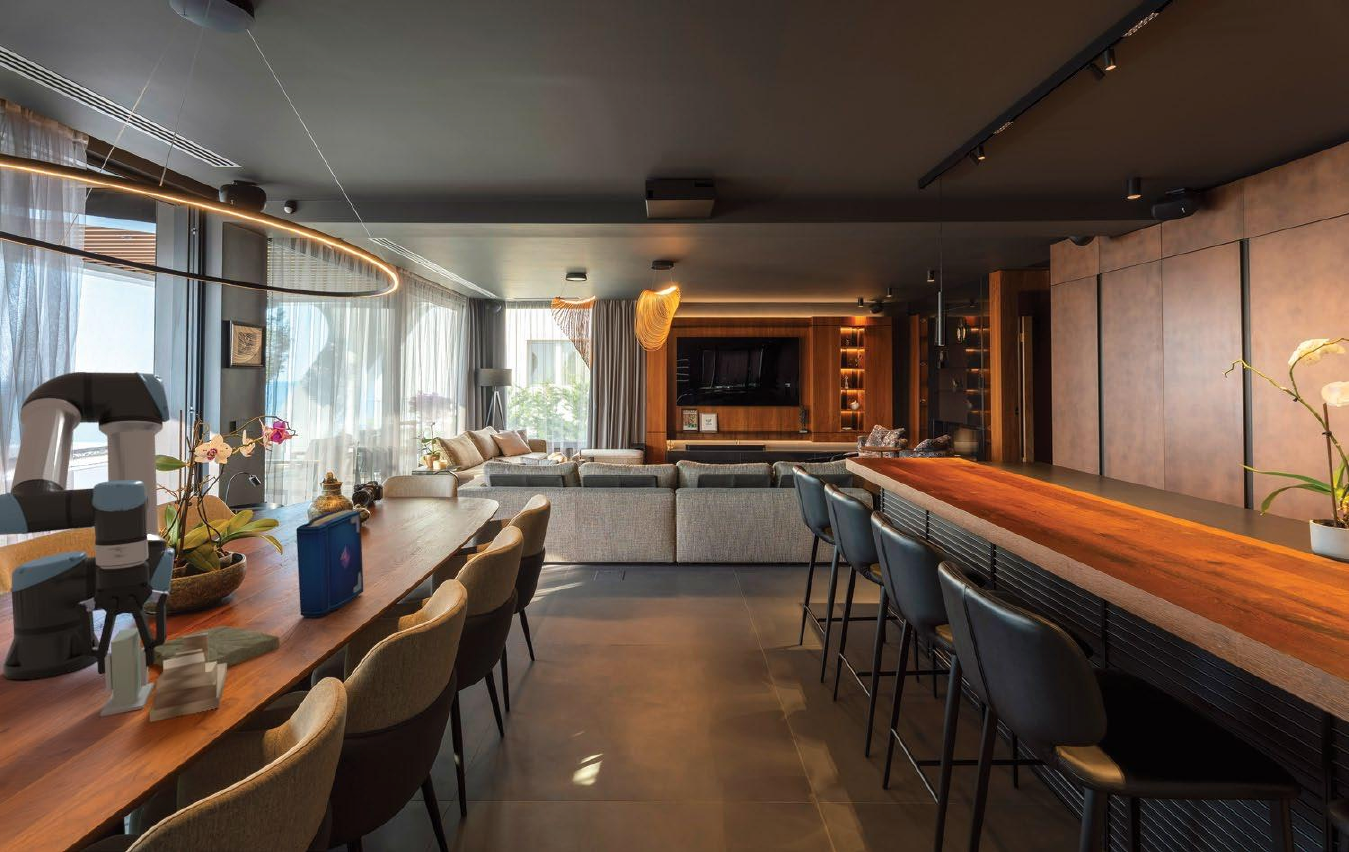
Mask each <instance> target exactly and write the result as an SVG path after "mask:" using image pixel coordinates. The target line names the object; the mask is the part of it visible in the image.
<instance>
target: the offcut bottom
mask: <svg viewBox="0 0 1349 852" xmlns="http://www.w3.org/2000/svg"><path fill="white" fill-rule="evenodd" d="M216 696H217V676H216V678H215V680H214V682H213V684H212V685H207V686H201V687H194V688H188V689H182V690H175V691H169V692H163V693H158V685H157V684H156V688H155V691H154V694H153V702H154V711H155V710H159V709H164V708H169V707H174V706H178V705H183V704H188V703H193V702H197V701H202V700H207V699H212V698H216Z"/></svg>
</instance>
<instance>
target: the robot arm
mask: <svg viewBox="0 0 1349 852" xmlns="http://www.w3.org/2000/svg"><path fill="white" fill-rule="evenodd" d="M19 417H20V421H21V423H22V424H23V426H24V428H23V431H22V436H21V441H20V446H19V450H18V454H17V455H18V456H17V460H16V465H15V470H14V474H13V479H12V482H11V488H10V492H7V493H2V494H0V536H5V535H27V534H36V533H37V534H38V533H44V532H54V531H64V530H72V529H74V530H75V529H78V530H79V529H86V528H87V529H89V528H94V537H95V540H94V549H95V552H94V553H95V555H94V557H93V556H92V557H88V554H87V553H86V551H85V550H77V551H67V552H62V553H56V554H55V553H54V554H50V555H47V556H43V557H40V558H36V559H33V560H29V561H27V562H24V563H22V564H20V565H18V566H16V568H15V569H14V570H13V571H12V573H11V585H10V586H11V587H10V589H9V590H10V592H11V600H12V601H11V602H12V605H11V606H12V618H13V619H12V620H13V624H12V625H13V626H12V627H13V639H12V641H11V644H10V647H9V649H8V652H7V654H6V657H5V660H4V662H3V667H2V668H3V669H2V670H3V677H4V678H5V677H6V678H5V679H7V680H11V679H30V680H37V679H36V678H38V679H42V678H43V677H45V678H49V676H50V677H54V676H53V675H55V676H59V675H62V673H63V674H66V673H65V672H67V673H70V672H69V671H71V672H73V671H76V670H80V669H82V668H85V667H87V666H89V665H92V664H94V663H95V662H97V673H98V674H99V675H104V674H105V692H106V693H111V692H112V693H113V680H112V656H111V652H109V650H110V649H109V648H110V646H111V642H112V641H111V640H112V636H113V632H114V631H113V630H114V627H115V623H116V619H117V616H119V615H122V614H131V616H132V618H133V620H134V621H135V624H136V628H138V631H139V634H140V641H141V642H142V645H143V647H141V648H140V649H141V651H140V673H141V686H146V685H147V684H149V683H148V682H149V680H150V679H149V678H150V676H149V667H152V666H154V665H155V664H154V661H155V647H156V646H159V645H162V644H163V643H164V642H166V641H167V601H168V598H169V597H170V594H171V585H172V578H173V570H174V561H175V554H176V553H175V551H176V549H175V548H173V547H168V545H167V544H168V542H167V540H166V539H165V538H163V537H162V536H160V534H159V521H158V519H159V518H158V495H157V492H158V491H157V489H158V488H157V463H156V462H157V461H156V460H157V459H156V458H157V457H156V435H157V434H158V433H159V432H162V430H163V428H164V426H163V425H164V424H163V423H166V422H168V421H170V419H171V418H170V411H169V406H168V399H167V395H166V391H165V385H164V382H163V379H162V377H161V376H159V375H158V374H155V373H144V372H137V371H136V372H90V371H89V372H86V371H77V372H76V371H75V372H69V373H65V374H61V375H59V376H58V375H56V376H55V377H53V378H51V379H49V380H47V381H46V382H44V383H42V384H40V385H39V386H38V387H36V388H34V390H33V391H32V392H30V393H29V395H28V396H27V397H26V399H25V400H24V402H23V404H22V406H21V409H20V414H19ZM81 423H86V424H87V423H88V424H89V423H90V424H91V423H93V424H94V423H98V430H99V431H100V433H102V434H103V435H105V436H106V437H107V479H108V480H107V481H104V482H99V483H96V484H95V485H94V486H93V488H79V489H78V488H77V489H66V488H67V479H68V474H69V465H70V460H71V459H70V458H71V451H72V442H73V437H74V436H73V435H74V430H75V429H77V428H78V427H79V425H80V424H81ZM151 490H152V491H151ZM152 602H153V603H154V604H156V606H155V633H156V634H155V638H154V636H153V633H152V629H151V628H150V625H149V622H148V619H147V615H146V613H145V608H144V605H145V604H147V603H152ZM94 611H95V612H96V611H105V617H104V623H103V627H102V631H101V634H100V639H98V637H97V635H96V633H95V623H94ZM58 674H59V675H58ZM43 679H44V678H43Z"/></svg>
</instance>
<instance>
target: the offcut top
mask: <svg viewBox="0 0 1349 852" xmlns="http://www.w3.org/2000/svg"><path fill="white" fill-rule="evenodd" d="M162 668H163V670H162V672H164V681H165V680H169V679H174V678H178V677H183V676H188V675H192V674H197V673H202V672H205V658H204V653H199V654H194V655H189V656H184V657H179V658H174V659H169V660H164V661H163V667H162Z"/></svg>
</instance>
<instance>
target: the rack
mask: <svg viewBox="0 0 1349 852" xmlns="http://www.w3.org/2000/svg"><path fill="white" fill-rule="evenodd" d="M187 635H188V634H187ZM182 636H183V652H179V653H176V654H175V658H179V657H184V656H189V655H194V654H199V653H204V658H205V663H209V649H208V633H201V634H195V635H188V636H186V635H182ZM217 672H218V674H217V696H216V698H212V699H207V700H202V701H197V702H193V703H188V704H183V705H178V706H174V707H169V708H164V709H159V710H155V711H154V701H153V702H152V704H151V706H150V709H149V722H150V723H152V722H156V721H157V722H159V721H163V720H166V719H167V720H168V719H171V718H177V716H178V717H182V716H181V715H183V716H186V715H192V714H197V712H198V713H201V712H202V711H203V712H206V711H207V710H208V711H211V709H213V710H216V709H215V708H218V709H219V708H220V706H219V705H221V701H222V697H223V693H222V692H224V687H225V685H226V683H225V682H226V679H227V674H228V667H227V663H224V664H218V665H217ZM220 700H221V701H220Z"/></svg>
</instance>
